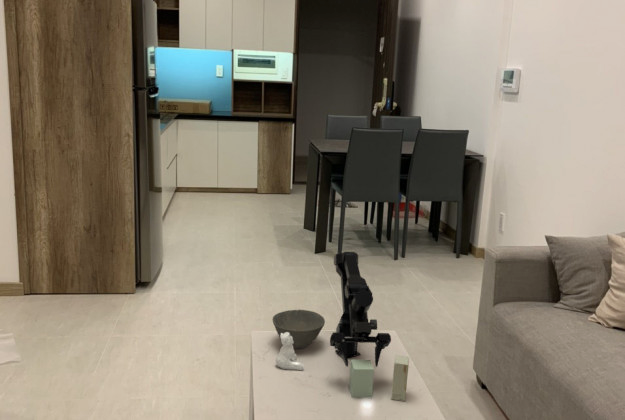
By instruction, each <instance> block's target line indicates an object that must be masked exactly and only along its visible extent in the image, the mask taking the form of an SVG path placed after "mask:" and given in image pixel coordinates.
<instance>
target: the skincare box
mask: <svg viewBox="0 0 625 420" xmlns="http://www.w3.org/2000/svg"><path fill="white" fill-rule="evenodd" d="M394 357H395V358H394V364H393V374H392V376H393V377H392V385H391V397H390V399H391V400H396V401H402V402H405V401H406V395H407V383H408V373H409V365H410V364H409V363H410V357H409V356H405V355H400V354H395V356H394Z"/></svg>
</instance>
